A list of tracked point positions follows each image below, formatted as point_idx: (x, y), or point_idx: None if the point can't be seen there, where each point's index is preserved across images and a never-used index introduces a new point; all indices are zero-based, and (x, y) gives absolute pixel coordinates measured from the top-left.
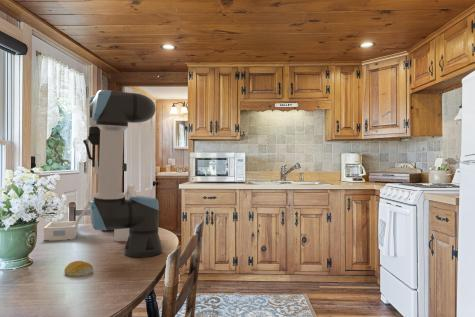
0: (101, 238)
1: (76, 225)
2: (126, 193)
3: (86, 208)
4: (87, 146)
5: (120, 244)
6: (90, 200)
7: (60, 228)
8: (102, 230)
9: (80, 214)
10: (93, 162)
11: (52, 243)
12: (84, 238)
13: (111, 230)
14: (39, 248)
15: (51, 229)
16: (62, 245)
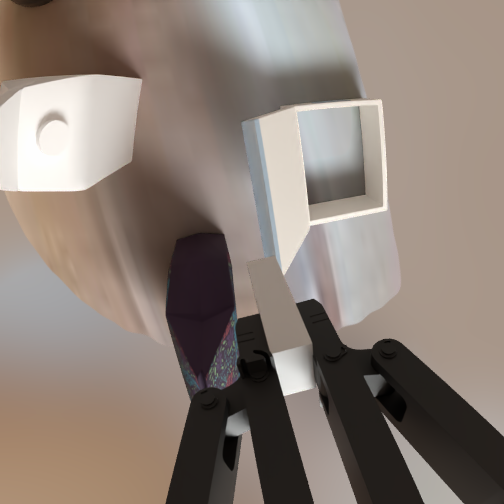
0: (191, 115)
1: None
2: (27, 87)
3: (260, 116)
4: (498, 466)
5: (112, 34)
6: (260, 174)
7: (333, 102)
8: (220, 235)
9: (280, 111)
10: (321, 332)
11: (326, 57)
12: (249, 117)
13: (190, 236)
14: (338, 5)
15: (358, 100)
16: (289, 26)
